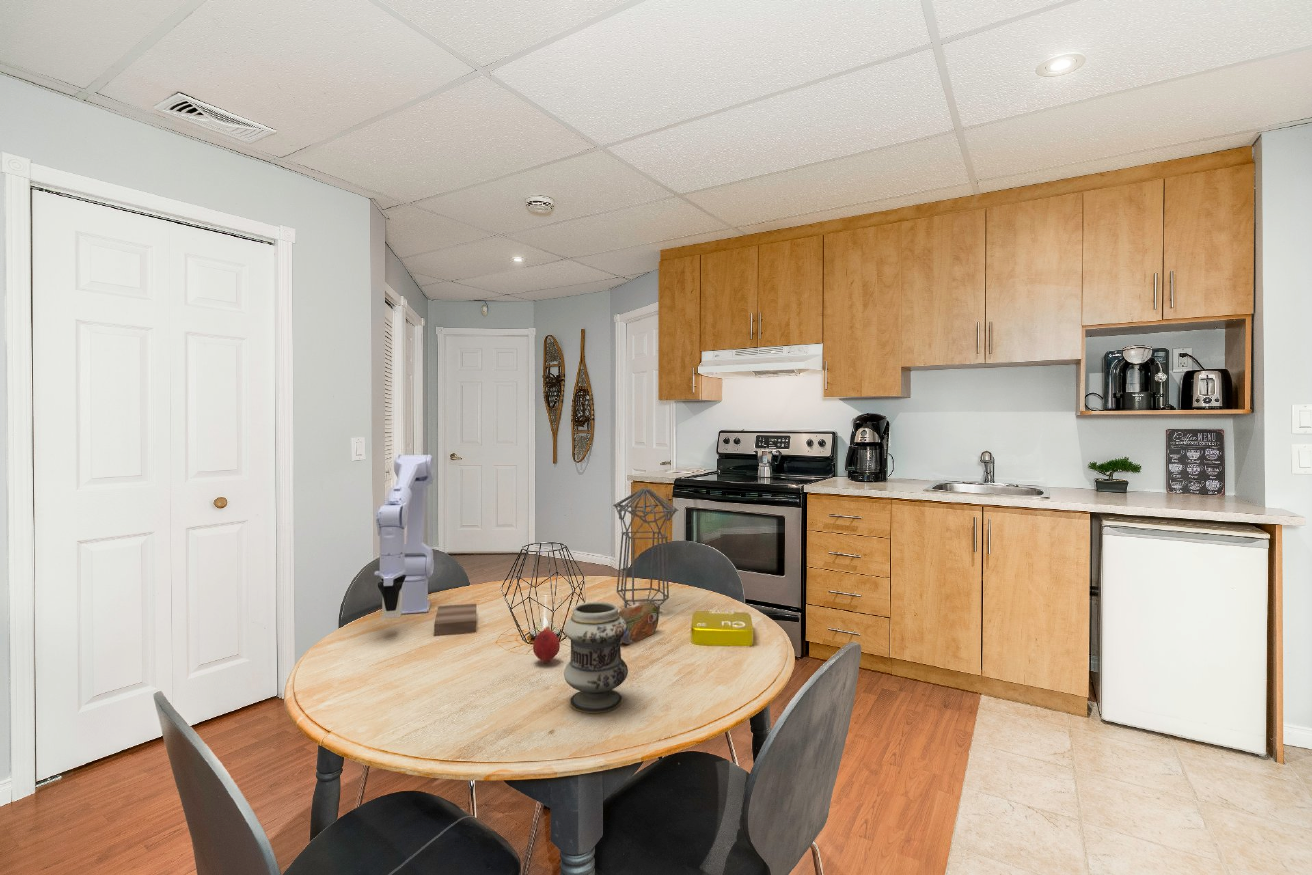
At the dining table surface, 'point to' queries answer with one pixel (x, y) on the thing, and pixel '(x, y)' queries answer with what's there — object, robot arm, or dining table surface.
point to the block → (395, 613)
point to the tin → (639, 621)
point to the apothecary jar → (595, 656)
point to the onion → (546, 645)
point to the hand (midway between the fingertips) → (392, 607)
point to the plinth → (455, 619)
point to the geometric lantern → (669, 511)
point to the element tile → (721, 628)
